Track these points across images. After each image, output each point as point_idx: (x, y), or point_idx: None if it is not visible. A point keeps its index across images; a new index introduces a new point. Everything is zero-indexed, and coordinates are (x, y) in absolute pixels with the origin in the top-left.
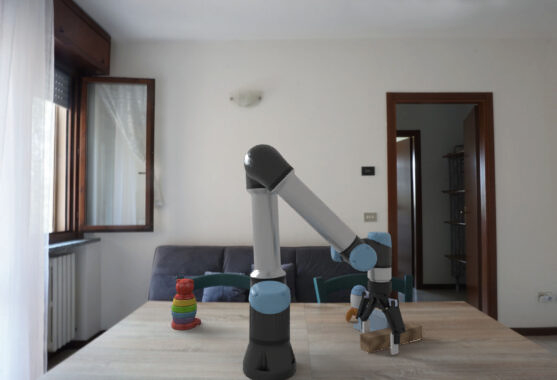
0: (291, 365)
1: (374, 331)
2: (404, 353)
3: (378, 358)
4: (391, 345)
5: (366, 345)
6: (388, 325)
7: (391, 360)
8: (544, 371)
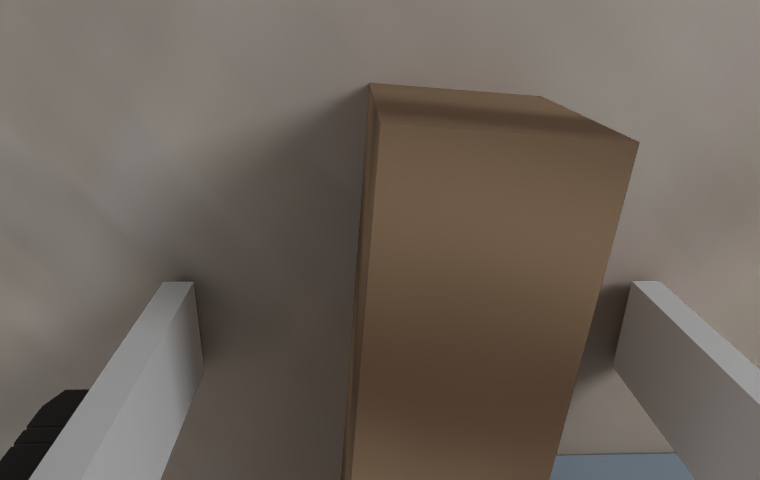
0: None
1: (540, 432)
2: None
3: (186, 77)
4: (138, 345)
5: (426, 100)
6: None
7: (70, 177)
8: None
